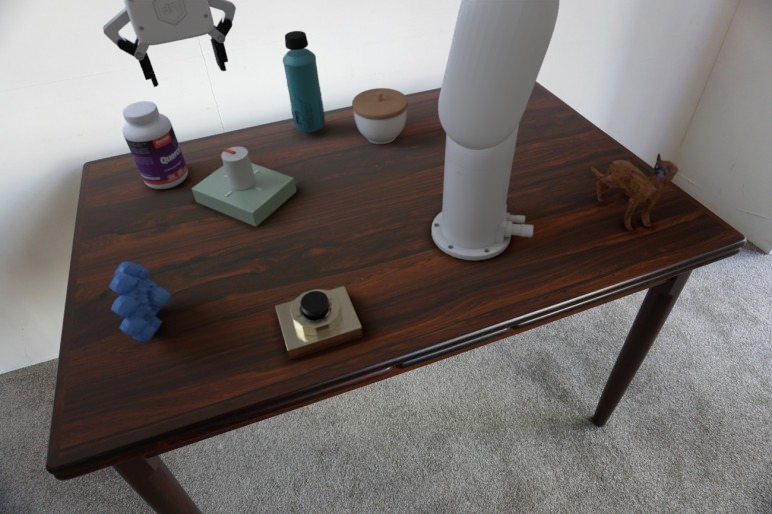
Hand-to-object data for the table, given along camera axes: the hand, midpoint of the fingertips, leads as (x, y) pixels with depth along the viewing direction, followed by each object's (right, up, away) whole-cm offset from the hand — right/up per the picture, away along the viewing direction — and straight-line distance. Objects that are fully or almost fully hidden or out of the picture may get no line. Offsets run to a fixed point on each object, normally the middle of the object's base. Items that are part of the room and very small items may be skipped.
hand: (189, 75), depth 76 cm
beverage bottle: (+13, 0, +33) cm, 35 cm away
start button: (+19, -33, -7) cm, 39 cm away
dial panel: (+4, -16, +17) cm, 24 cm away
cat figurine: (+68, -17, +13) cm, 71 cm away
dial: (+4, -14, +15) cm, 21 cm away
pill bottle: (-12, -12, +22) cm, 28 cm away
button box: (+19, -36, -4) cm, 41 cm away
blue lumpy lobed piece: (-3, -36, -3) cm, 37 cm away
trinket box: (+28, -2, +30) cm, 41 cm away
